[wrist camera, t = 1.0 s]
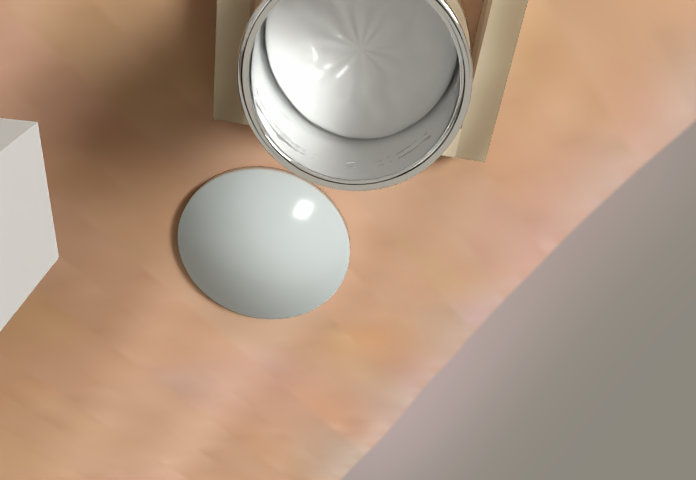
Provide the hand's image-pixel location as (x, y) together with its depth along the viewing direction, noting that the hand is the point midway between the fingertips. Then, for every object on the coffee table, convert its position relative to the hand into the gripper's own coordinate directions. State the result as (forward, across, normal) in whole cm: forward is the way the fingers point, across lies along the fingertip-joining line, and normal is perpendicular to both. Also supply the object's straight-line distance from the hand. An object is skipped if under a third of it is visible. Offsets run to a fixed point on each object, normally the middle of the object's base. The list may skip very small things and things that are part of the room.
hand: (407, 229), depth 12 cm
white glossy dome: (+23, -6, -15) cm, 28 cm away
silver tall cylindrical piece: (+23, -1, 0) cm, 23 cm away
